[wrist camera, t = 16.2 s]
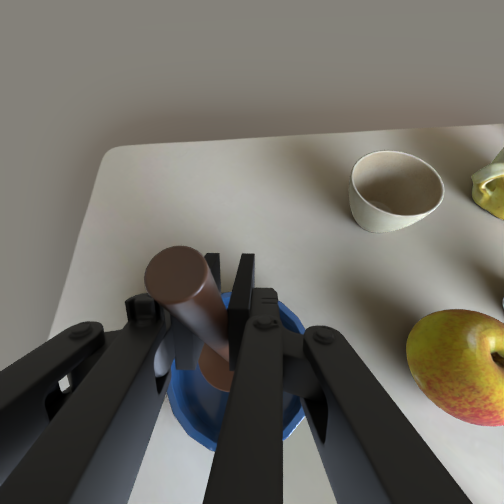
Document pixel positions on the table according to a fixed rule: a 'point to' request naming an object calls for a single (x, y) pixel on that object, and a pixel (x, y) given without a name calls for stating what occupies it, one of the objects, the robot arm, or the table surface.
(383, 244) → the table surface
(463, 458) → the table surface
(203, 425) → the bowl
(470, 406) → the fruit
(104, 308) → the table surface
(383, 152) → the cream ceramic cup
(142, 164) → the table surface
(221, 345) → the paper towel holder
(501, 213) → the mug
